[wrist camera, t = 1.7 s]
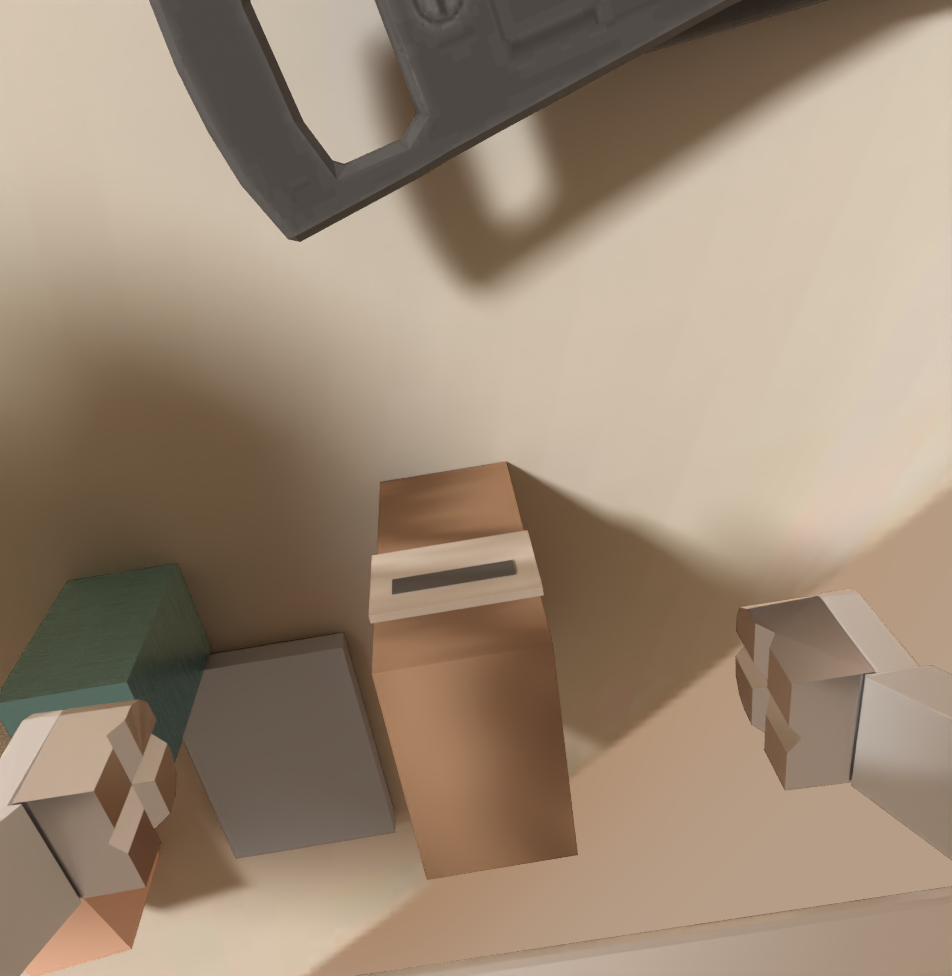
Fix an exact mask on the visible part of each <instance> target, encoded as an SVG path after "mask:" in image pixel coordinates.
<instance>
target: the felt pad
mask: <svg viewBox="0 0 952 976" xmlns="http://www.w3.org/2000/svg"><path fill="white" fill-rule="evenodd" d="M182 739H183V741H184V743H185V746H186V748H187V750H188V752H189V755H190V757H191V759H192V761H193V763H194V766H195V768H196V770H197V772H198V775H199V777H200V779H201V781H202V784H203V786H204V788H205V790H206V793H207V795H208V797H209V799H210V802H211V804H212V806H213V808H214V811H215V813H216V815H217V817H218V819H219V822H220V824H221V826H222V828H223V831H224V833H225V835H226V837H227V840H228V842H229V844H230V846H231V849H232V851H233V853H234V855H235V858H236V859H237V858H243V857H249V856H255V855H261V854H267V853H273V852H279V851H285V850H291V849H297V848H303V847H309V846H316V845H322V844H328V843H334V842H340V841H346V840H352V839H358V838H364V837H370V836H376V835H382V834H388V833H394V832H395V813H394V809H393V806H392V802H391V799H390V795H389V791H388V788H387V784H386V781H385V777H384V774H383V770H382V767H381V763H380V760H379V756H378V752H377V749H376V745H375V742H374V738H373V735H372V731H371V728H370V724H369V721H368V717H367V713H366V710H365V706H364V703H363V699H362V696H361V692H360V689H359V685H358V682H357V678H356V674H355V671H354V667H353V664H352V660H351V657H350V653H349V650H348V646H347V643H346V639H345V635H344V633H338V634H332V635H326V636H320V637H314V638H307V639H301V640H295V641H289V642H283V643H277V644H271V645H265V646H258V647H252V648H246V649H240V650H234V651H228V652H222V653H216V654H210V655H209V656H208V659H207V662H206V665H205V668H204V671H203V675H202V678H201V681H200V684H199V687H198V691H197V694H196V697H195V700H194V703H193V707H192V710H191V713H190V716H189V719H188V723H187V726H186V729H185V732H184V735H183V738H182Z"/></svg>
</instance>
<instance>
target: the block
mask: <svg viewBox="0 0 952 976" xmlns="http://www.w3.org/2000/svg"><path fill="white" fill-rule="evenodd" d="M159 855H160V853H159V852H157V855H156V858H155V861H154V864H153V867H152V870H151V873H150V876H149V879H148V882H147V886H146V887H145V888H139V889H134V890H128V891H123V892H117V893H112V894H106V895H101V896H95V897H90V898H84V899H80V900H81V904H80V905H79V906H78V907H77V908H76V910H75V911H74V912H73V913H72V914H71V916H70V917H69V918H68V919H67V920H66V921H65V923H64V924H63V925H62V926H61V927H60V929H59V930H58V931H57V932H56V933H55V934H54V936H53V937H52V938H51V939H50V940H49V942H48V943H47V944H46V945H45V946H44V947H43V949H42V950H41V951H40V952H39V953H38V955H37V956H36V957H35V958H34V959H33V960H32V962H31V963H30V964H29V965H28V966H27V968H26V969H25V970H24V971H25V972H27V973H28V974H29V975H30V976H40V975H43V974H47V973H50V972H54V971H57V970H61V969H64V968H68V967H71V966H75V965H78V964H82V963H85V962H89V961H92V960H96V959H99V958H103V957H106V956H110V955H113V954H117V953H120V952H124V951H127V950H131V949H132V946H133V943H134V939H135V936H136V933H137V929H138V926H139V923H140V919H141V916H142V912H143V909H144V906H145V902H146V899H147V896H148V892H149V889H150V885H151V882H152V879H153V875H154V872H155V869H156V865H157V862H158V858H159Z"/></svg>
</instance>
